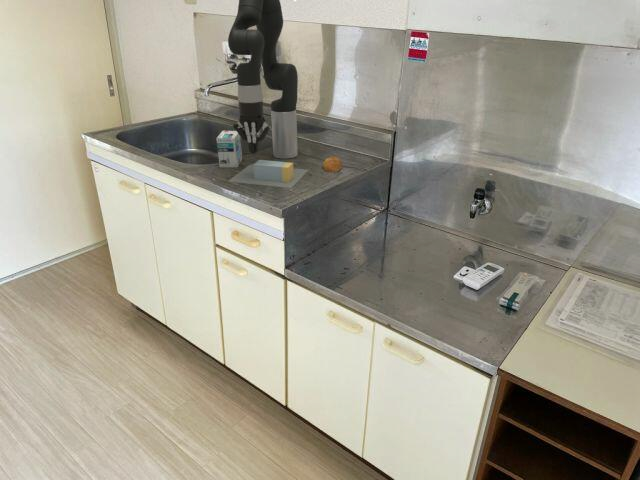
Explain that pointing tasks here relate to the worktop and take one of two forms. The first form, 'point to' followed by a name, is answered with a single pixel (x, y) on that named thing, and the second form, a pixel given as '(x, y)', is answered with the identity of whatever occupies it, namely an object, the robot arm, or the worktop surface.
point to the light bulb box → (229, 149)
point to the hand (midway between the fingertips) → (254, 153)
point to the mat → (248, 178)
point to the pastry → (332, 165)
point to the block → (273, 171)
